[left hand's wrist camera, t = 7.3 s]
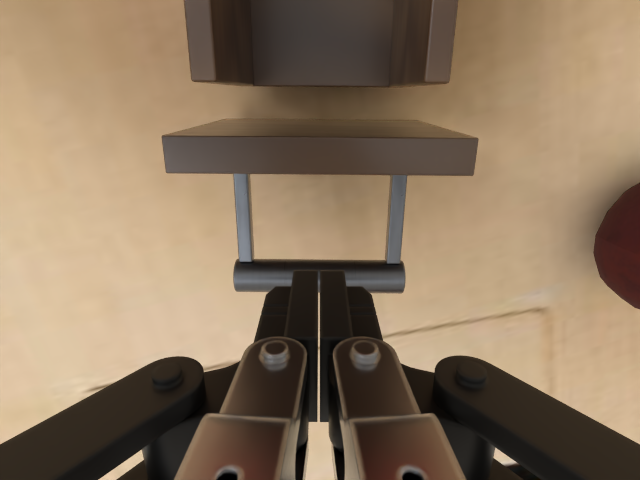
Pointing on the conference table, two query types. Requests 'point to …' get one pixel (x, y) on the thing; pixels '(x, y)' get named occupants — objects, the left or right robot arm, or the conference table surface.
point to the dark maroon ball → (621, 247)
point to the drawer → (320, 135)
